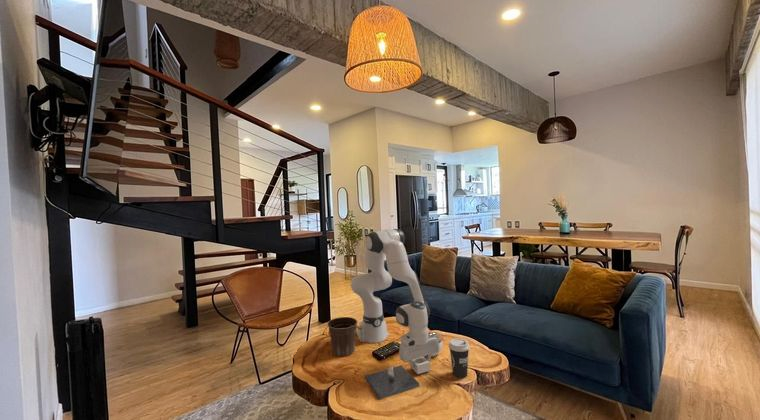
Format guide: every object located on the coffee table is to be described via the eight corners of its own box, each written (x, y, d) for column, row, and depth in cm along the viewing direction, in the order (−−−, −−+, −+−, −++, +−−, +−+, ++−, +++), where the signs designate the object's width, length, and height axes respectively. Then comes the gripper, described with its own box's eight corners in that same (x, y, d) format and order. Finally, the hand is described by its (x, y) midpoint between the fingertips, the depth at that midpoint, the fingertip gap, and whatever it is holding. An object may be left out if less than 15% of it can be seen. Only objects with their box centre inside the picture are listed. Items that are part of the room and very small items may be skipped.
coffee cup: (455, 381, 143) (454, 348, 142) (445, 370, 152) (444, 339, 151) (474, 377, 145) (473, 344, 145) (463, 366, 155) (462, 336, 154)
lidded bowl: (436, 361, 161) (435, 340, 160) (414, 355, 168) (413, 334, 168) (447, 351, 171) (446, 330, 170) (426, 345, 178) (425, 326, 178)
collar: (410, 367, 155) (410, 359, 155) (422, 363, 158) (422, 355, 157) (417, 374, 149) (417, 365, 149) (430, 370, 151) (429, 362, 151)
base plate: (364, 378, 149) (364, 363, 148) (401, 368, 156) (400, 353, 156) (379, 399, 133) (378, 382, 133) (419, 386, 141) (418, 370, 140)
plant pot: (361, 344, 183) (359, 316, 183) (356, 358, 167) (354, 328, 167) (333, 344, 185) (331, 316, 184) (325, 358, 169) (323, 328, 168)
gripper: (433, 329, 159) (434, 356, 160) (397, 338, 151) (398, 367, 152) (441, 334, 154) (442, 362, 154) (403, 344, 146) (404, 374, 146)
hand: (420, 365), depth 153 cm, fingers closed on collar, 7 cm apart
